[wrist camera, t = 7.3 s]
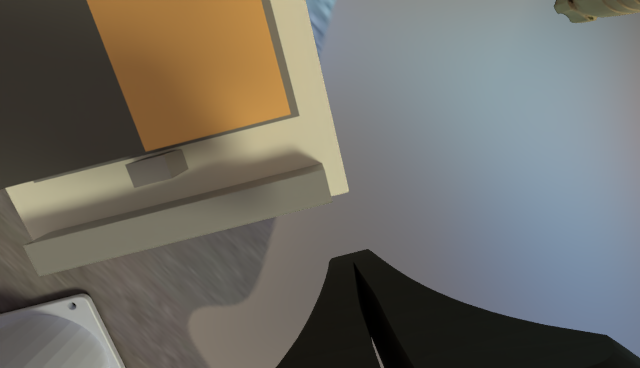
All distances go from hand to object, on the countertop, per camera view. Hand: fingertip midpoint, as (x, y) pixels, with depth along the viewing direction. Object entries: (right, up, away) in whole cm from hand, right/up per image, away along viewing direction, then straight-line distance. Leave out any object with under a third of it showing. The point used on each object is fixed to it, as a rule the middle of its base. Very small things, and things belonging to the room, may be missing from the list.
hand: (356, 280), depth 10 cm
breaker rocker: (-9, +8, +2) cm, 12 cm away
